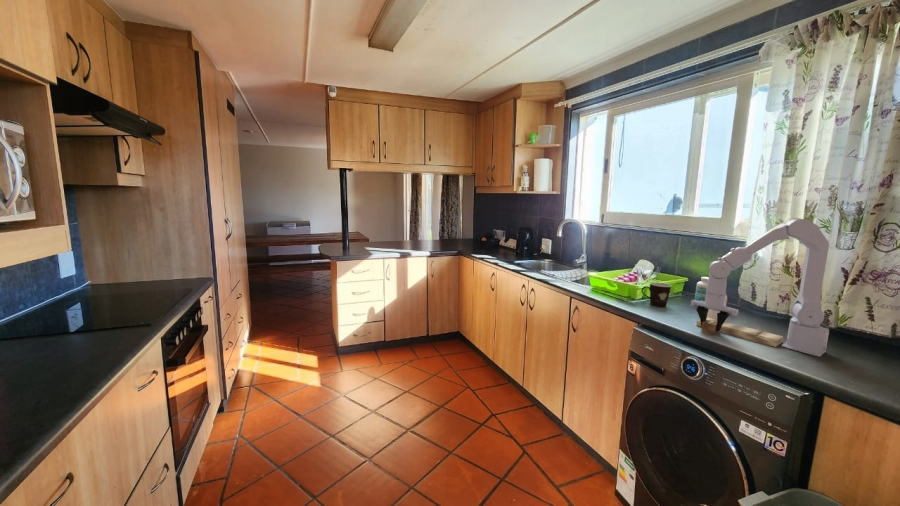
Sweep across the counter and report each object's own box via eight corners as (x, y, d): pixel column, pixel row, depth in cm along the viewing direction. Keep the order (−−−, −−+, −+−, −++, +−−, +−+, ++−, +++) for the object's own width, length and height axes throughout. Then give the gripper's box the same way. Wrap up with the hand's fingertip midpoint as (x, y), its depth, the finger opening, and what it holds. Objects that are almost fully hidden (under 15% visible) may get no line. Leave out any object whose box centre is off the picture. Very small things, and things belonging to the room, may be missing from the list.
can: (726, 323, 145) (731, 294, 143) (708, 321, 146) (713, 293, 145) (718, 318, 151) (722, 290, 150) (701, 316, 153) (705, 289, 151)
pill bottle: (690, 304, 171) (693, 276, 169) (701, 303, 173) (705, 275, 171) (705, 308, 164) (709, 280, 162) (717, 307, 166) (721, 279, 164)
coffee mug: (669, 304, 169) (671, 284, 167) (668, 309, 162) (671, 287, 160) (641, 300, 175) (643, 280, 174) (639, 304, 168) (641, 284, 166)
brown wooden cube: (718, 333, 135) (720, 322, 134) (713, 335, 132) (714, 325, 131) (706, 329, 138) (708, 319, 137) (700, 332, 135) (702, 321, 134)
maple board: (782, 342, 127) (783, 336, 127) (775, 347, 123) (776, 340, 122) (705, 321, 146) (705, 316, 146) (696, 325, 142) (697, 320, 142)
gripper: (743, 296, 129) (738, 332, 131) (698, 287, 141) (693, 320, 143) (736, 299, 125) (730, 336, 127) (690, 289, 137) (685, 324, 139)
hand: (710, 328), depth 135 cm, fingers open, 4 cm apart
